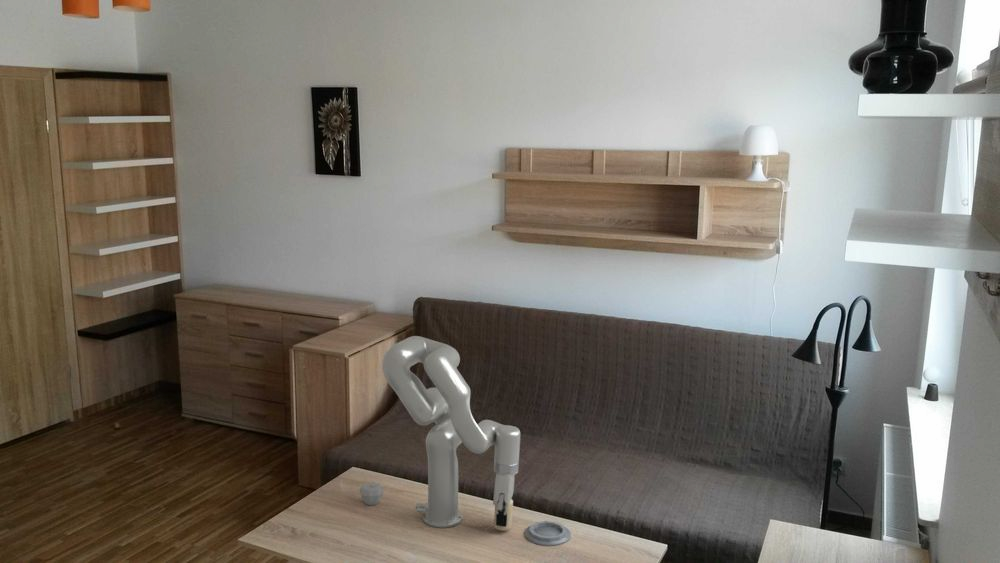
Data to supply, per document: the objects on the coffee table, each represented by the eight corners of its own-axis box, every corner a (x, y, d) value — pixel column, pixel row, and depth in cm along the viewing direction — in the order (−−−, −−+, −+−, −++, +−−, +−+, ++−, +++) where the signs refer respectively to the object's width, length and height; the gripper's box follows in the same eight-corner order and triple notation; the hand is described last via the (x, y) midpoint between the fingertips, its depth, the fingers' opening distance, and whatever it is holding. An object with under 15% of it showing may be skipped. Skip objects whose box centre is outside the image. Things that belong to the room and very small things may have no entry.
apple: (381, 508, 270) (381, 489, 269) (357, 508, 270) (357, 489, 269) (385, 498, 278) (385, 479, 277) (361, 497, 278) (361, 479, 277)
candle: (509, 531, 254) (511, 501, 252) (492, 529, 255) (493, 499, 253) (513, 523, 259) (514, 494, 257) (495, 521, 260) (497, 491, 258)
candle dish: (521, 543, 249) (521, 537, 249) (528, 522, 263) (528, 516, 262) (567, 548, 246) (568, 542, 246) (572, 526, 260) (572, 521, 260)
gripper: (499, 454, 262) (496, 507, 266) (488, 475, 246) (485, 532, 249) (522, 457, 261) (519, 510, 264) (513, 479, 244) (510, 535, 248)
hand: (503, 520), depth 257 cm, fingers closed on candle, 5 cm apart
